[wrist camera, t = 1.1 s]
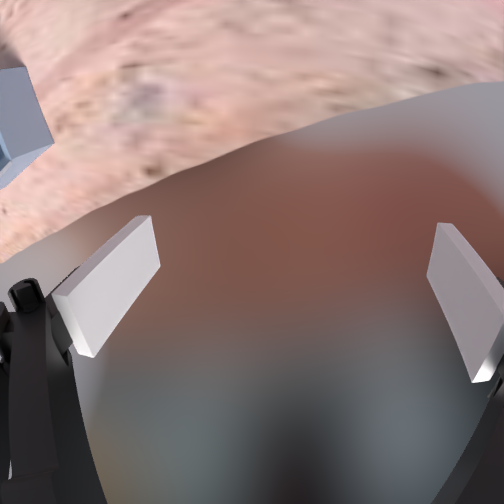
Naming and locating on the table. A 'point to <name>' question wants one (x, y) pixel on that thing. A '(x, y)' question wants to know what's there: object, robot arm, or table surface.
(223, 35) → the table surface
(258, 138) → the table surface
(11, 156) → the box
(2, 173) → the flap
